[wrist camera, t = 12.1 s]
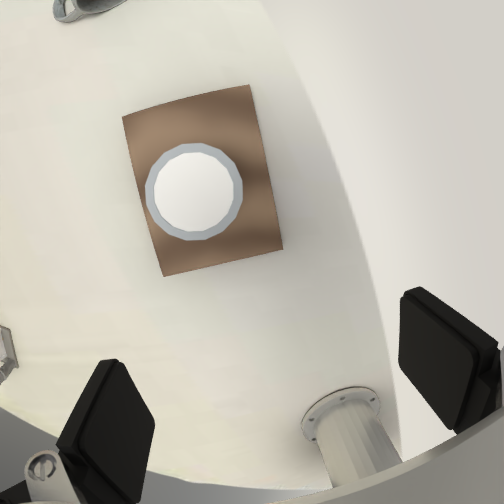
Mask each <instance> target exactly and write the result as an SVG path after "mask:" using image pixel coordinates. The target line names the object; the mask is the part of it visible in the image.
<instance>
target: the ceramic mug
mask: <svg viewBox="0 0 504 504" xmlns="http://www.w3.org/2000/svg"><path fill="white" fill-rule="evenodd" d="M71 1H72V3H73V5H74V7H75V10H74V11H72V12H71V13H70V14H68V15H67V16H65V13H64V9H63V4H64V0H54V4H53V15H54V18H55V19H56V20H57V21H60V22H71V21H74V20H76V19H77V18H79V17H80V16H81V15H82V14H84V13H87V14H93V13H99V12H103V11H106V10H109V9H111V8H113V7H115V6H117V5H119V4H121V3H122V2H124V1H125V0H71Z"/></svg>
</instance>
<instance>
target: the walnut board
mask: <svg viewBox="0 0 504 504" xmlns="http://www.w3.org/2000/svg"><path fill="white" fill-rule="evenodd" d="M122 120H123V125H124V130H125V135H126V140H127V144H128V149H129V154H130V158H131V162H132V167H133V171H134V175H135V179H136V183H137V187H138V191H139V195H140V199H141V203H142V206H143V210H144V214H145V217H146V221H147V225H148V228H149V232H150V235H151V238H152V242H153V245H154V248H155V252H156V255H157V258H158V261H159V265H160V268H161V271H162V274H163V277H166V276H170V275H175V274H179V273H183V272H188V271H192V270H196V269H201V268H205V267H209V266H214V265H218V264H222V263H227V262H231V261H235V260H240V259H244V258H248V257H253V256H257V255H261V254H266V253H270V252H274V251H278V250H283V246H282V240H281V235H280V230H279V224H278V219H277V214H276V209H275V203H274V198H273V193H272V188H271V183H270V178H269V173H268V168H267V164H266V159H265V154H264V149H263V144H262V140H261V135H260V130H259V126H258V121H257V117H256V112H255V107H254V103H253V99H252V94H251V90H250V85H244V86H238V87H233V88H227V89H222V90H218V91H213V92H208V93H204V94H200V95H195V96H191V97H187V98H183V99H179V100H176V101H172V102H168V103H165V104H161V105H158V106H154V107H151V108H148V109H145V110H141V111H138V112H135V113H132V114H129V115H126V116H123V117H122ZM191 143H203V144H206V145H209V146H212V147H214V148H217V149H220V150H221V151H222V152H223V153H224V154H225V155H227V156H228V157H229V158H230V159H231V160H232V161H233V162H234V163H235V165H236V167H237V170H238V172H239V174H240V177H241V179H242V186H243V201H242V203H241V206H240V208H239V211H238V213H237V216H236V218H235V219H234V220H233V221H232V222H231V223H230V224H229V225H228V227H227V228H226V229H225V230H224V231H223V232H221V233H219V234H217V235H214V236H212V237H210V238H208V239H206V240H183V239H180V238H178V237H175V236H172V235H169V234H168V233H167V232H165V231H164V230H163V229H162V228H161V227H160V226H159V225H158V224H156V223H155V222H154V220H153V218H152V216H151V214H150V212H149V210H148V207H147V205H146V194H145V184H146V181H147V178H148V175H149V173H150V170H151V167H152V166H153V165H154V164H155V163H156V161H157V160H158V159H159V158H160V157H161V156H162V155H163V154H164V153H165V152H167V151H169V150H171V149H173V148H175V147H177V146H179V145H181V144H191Z"/></svg>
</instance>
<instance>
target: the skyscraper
mask: <svg viewBox="0 0 504 504" xmlns="http://www.w3.org/2000/svg"><path fill="white" fill-rule="evenodd" d="M0 361H1V362H4V363H5V364H4V365H3V366H2V367H1V368H0V385H1V383H2V382H3V381H4V380H6V379H7V377H8V376H9V374H10V373H11V371H12V370H13V368H18V367H19V366H18V362H17V358H16V354H15V350H14V346H13V341H12V337H11V332H10V329H8V328H6V327H3V326H1V325H0Z"/></svg>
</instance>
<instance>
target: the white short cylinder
mask: <svg viewBox="0 0 504 504" xmlns="http://www.w3.org/2000/svg"><path fill="white" fill-rule="evenodd" d="M145 194H146V205H147V207H148V210H149V212H150V214H151V216H152V218H153V220H154V222H155V223H156V224H158V225H159V226H160V227H161V228H162V229H163V230H164V231H165V232H167V233H168V234H169V235H172V236H175V237H178V238H180V239H183V240H206V239H208V238H210V237H212V236H214V235H217V234H219V233H221V232H223V231H224V230H225V229H226V228H227V227H228V225H229V224H230V223H231V222H232V221H233V220H234V219H235V218H236V216H237V213H238V211H239V208H240V206H241V203H242V201H243V186H242V179H241V177H240V174H239V172H238V170H237V167H236V165H235V163H234V162H233V161H232V160H231V159H230V158H229V157H228V156H227V155H225V154H224V153H223V152H222V151H221V150H220V149H217V148H214V147H212V146H209V145H206V144H203V143H191V144H181V145H179V146H177V147H175V148H173V149H171V150H169V151H167V152H165V153H164V154H163V155H162V156H161V157H160V158H159V159H158V160H157V161H156V163H155V164H154V165H153V166H152V167H151V170H150V173H149V175H148V178H147V181H146V184H145Z"/></svg>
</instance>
